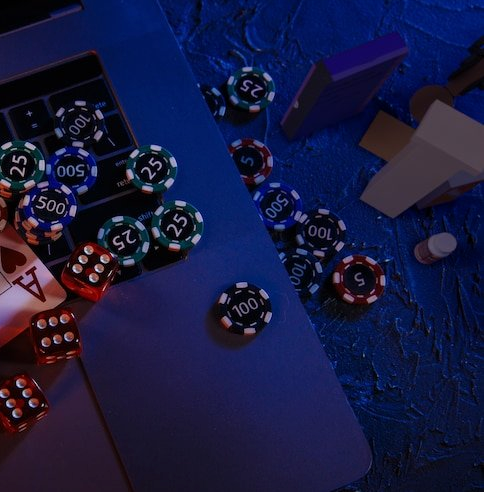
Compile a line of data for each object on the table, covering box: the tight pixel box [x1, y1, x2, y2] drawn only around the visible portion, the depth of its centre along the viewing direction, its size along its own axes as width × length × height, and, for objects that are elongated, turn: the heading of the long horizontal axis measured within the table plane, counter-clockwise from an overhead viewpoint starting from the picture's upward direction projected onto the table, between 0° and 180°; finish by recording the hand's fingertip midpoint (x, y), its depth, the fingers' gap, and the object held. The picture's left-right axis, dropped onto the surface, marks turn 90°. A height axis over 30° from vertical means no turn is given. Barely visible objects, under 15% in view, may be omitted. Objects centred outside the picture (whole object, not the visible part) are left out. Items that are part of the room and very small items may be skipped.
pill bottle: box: [414, 232, 458, 265], centre depth 124 cm, size 5×5×8 cm
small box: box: [415, 170, 484, 210], centre depth 125 cm, size 8×6×13 cm
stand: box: [359, 99, 484, 219], centre depth 117 cm, size 12×8×30 cm, turn 56°
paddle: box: [409, 58, 484, 124], centre depth 119 cm, size 8×18×2 cm, turn 121°
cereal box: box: [279, 29, 411, 142], centre depth 125 cm, size 17×5×24 cm, turn 113°
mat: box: [358, 109, 416, 163], centre depth 134 cm, size 12×10×1 cm
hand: (457, 83), depth 116 cm, fingers closed on paddle, 3 cm apart
